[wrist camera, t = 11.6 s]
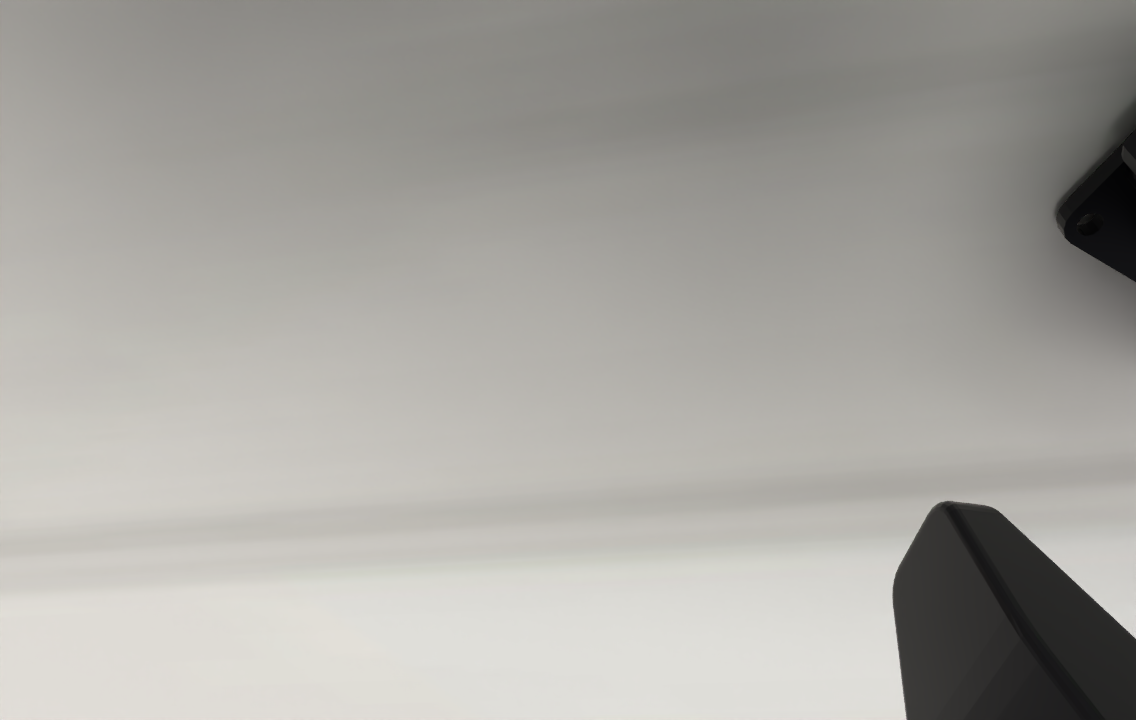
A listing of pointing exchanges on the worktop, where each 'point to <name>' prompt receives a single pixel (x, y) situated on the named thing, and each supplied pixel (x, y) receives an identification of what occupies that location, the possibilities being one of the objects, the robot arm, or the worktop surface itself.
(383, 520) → the worktop surface
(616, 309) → the worktop surface
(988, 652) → the robot arm
